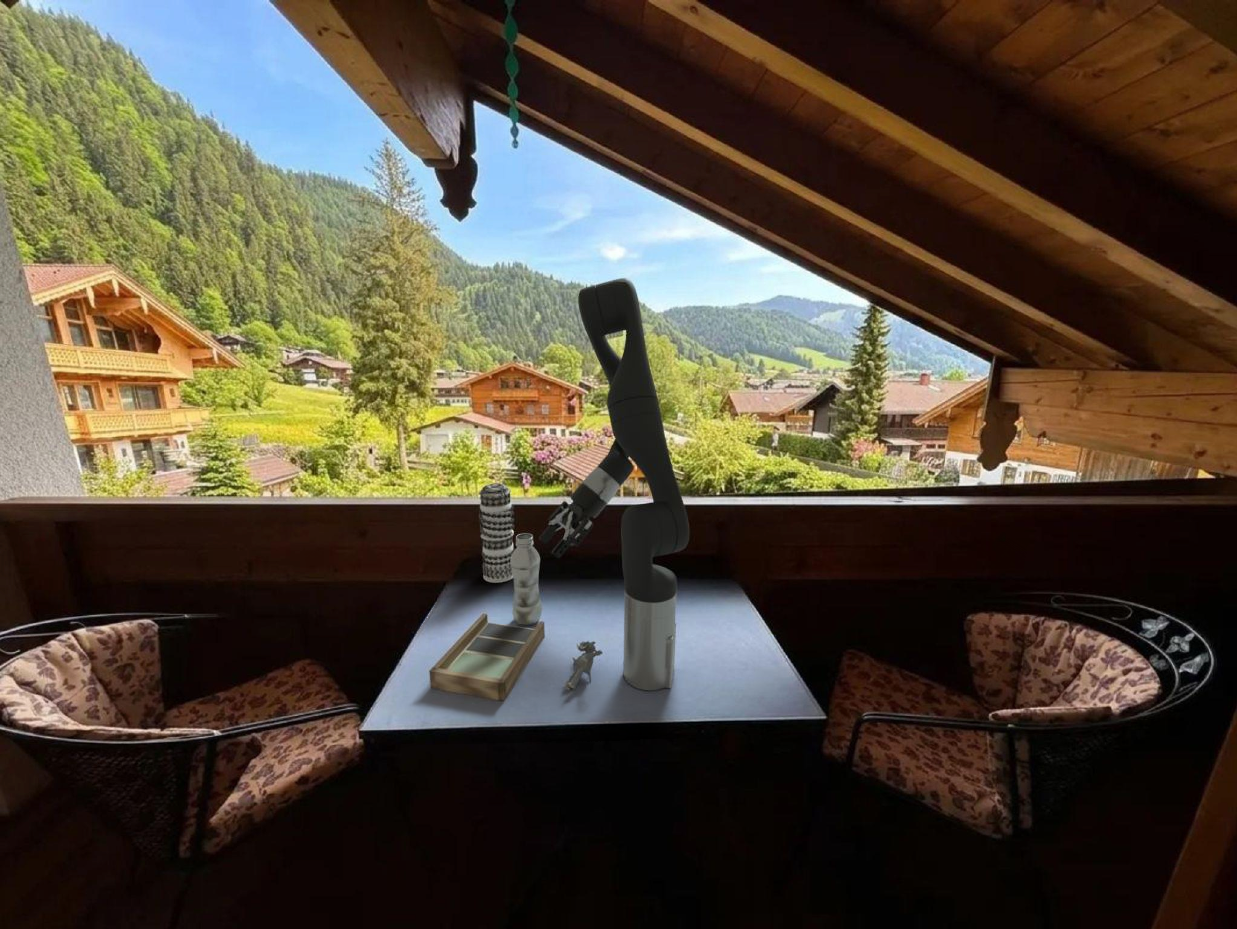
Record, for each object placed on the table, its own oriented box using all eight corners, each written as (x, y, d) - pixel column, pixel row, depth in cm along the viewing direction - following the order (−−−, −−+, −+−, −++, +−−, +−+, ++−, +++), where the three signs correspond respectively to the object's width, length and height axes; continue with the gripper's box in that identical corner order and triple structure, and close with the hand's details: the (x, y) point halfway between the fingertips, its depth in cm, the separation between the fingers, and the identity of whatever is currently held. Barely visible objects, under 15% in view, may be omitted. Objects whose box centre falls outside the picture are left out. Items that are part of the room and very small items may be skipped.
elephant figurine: (544, 681, 84) (570, 641, 90) (567, 703, 84) (591, 661, 91) (570, 672, 77) (596, 629, 83) (595, 695, 77) (619, 651, 84)
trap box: (544, 636, 97) (544, 621, 96) (503, 701, 78) (502, 683, 78) (483, 628, 99) (482, 613, 99) (430, 687, 81) (429, 670, 81)
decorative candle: (512, 583, 119) (508, 491, 113) (477, 583, 119) (471, 490, 113) (520, 567, 128) (517, 481, 122) (487, 567, 128) (482, 480, 122)
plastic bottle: (513, 630, 99) (509, 544, 94) (512, 614, 105) (508, 532, 100) (543, 626, 100) (541, 541, 96) (540, 610, 107) (538, 529, 102)
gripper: (572, 474, 108) (526, 528, 106) (598, 490, 96) (546, 551, 93) (593, 493, 112) (549, 545, 109) (620, 511, 99) (571, 570, 97)
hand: (548, 548), depth 101 cm, fingers open, 8 cm apart
